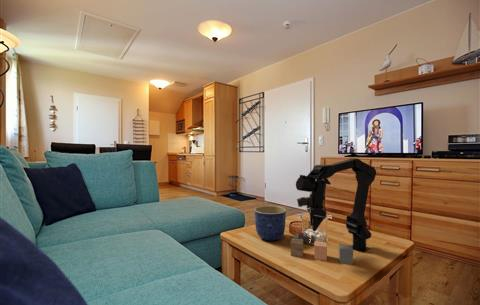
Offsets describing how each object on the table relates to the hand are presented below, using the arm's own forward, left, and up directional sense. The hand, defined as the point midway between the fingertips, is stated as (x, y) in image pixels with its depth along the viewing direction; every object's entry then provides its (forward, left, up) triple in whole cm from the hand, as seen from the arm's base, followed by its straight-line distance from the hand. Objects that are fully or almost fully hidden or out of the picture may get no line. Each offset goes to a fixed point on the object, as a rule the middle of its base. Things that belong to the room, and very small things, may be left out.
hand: (312, 228), depth 100 cm
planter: (-2, -28, -13) cm, 30 cm away
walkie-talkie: (-12, -14, -13) cm, 22 cm away
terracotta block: (-2, +2, -13) cm, 13 cm away
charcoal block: (-7, +11, -13) cm, 18 cm away
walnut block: (+3, -6, -13) cm, 14 cm away
